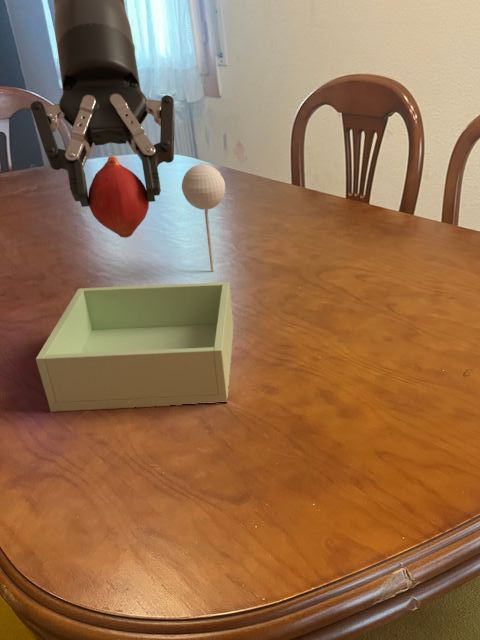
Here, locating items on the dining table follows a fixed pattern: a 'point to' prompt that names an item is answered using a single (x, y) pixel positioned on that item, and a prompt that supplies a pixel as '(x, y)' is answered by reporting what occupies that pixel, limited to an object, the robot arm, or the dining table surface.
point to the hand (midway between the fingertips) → (118, 199)
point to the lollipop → (204, 193)
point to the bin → (140, 348)
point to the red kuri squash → (118, 198)
